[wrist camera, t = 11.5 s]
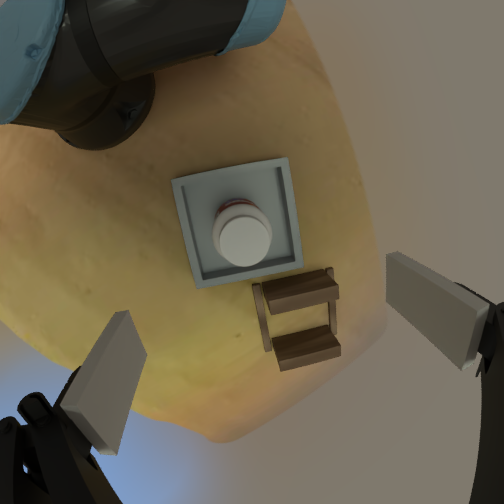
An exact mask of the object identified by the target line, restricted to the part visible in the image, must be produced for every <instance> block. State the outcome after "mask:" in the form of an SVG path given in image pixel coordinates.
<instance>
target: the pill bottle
mask: <svg viewBox="0 0 504 504" xmlns="http://www.w3.org/2000/svg"><path fill="white" fill-rule="evenodd" d="M212 240H213V244H214V246H215V248H216V250H217V252H218V253H219V254H220V255H221V256H222V257H223V258H224V259H226V260H228V261H229V262H230V263H232V264H234V265H237V266H242V267H245V266H252V265H254V264H256V263H258V262H260V261H261V260H262V259H263V258H264V257H265V256H266V254H267V252H268V250H269V247H270V244H271V241H272V228H271V224H270V222H269V220H268V218H267V216H266V215H265V214H264V213H263V212H262V211H261V210H260V209H259V207H258V206H257V205H256V204H255V203H253V202H252V201H250V200H248V199H244V198H234V199H230V200H228V201H226V202H224V203H223V204H222V205H221V206H220V207H219V209H218V210H217V212H216V215H215V218H214V224H213V229H212Z"/></svg>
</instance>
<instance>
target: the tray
mask: <svg viewBox="0 0 504 504" xmlns="http://www.w3.org/2000/svg"><path fill="white" fill-rule="evenodd" d="M171 183H172V188H173V192H174V197H175V202H176V206H177V211H178V215H179V220H180V224H181V228H182V233H183V237H184V241H185V245H186V249H187V253H188V257H189V261H190V265H191V269H192V273H193V276H194V280H195V284H196V288H197V289H200V288H205V287H210V286H215V285H220V284H226V283H231V282H236V281H240V280H245V279H250V278H255V277H260V276H265V275H269V274H274V273H279V272H284V271H288V270H293V269H298V268H302V267H304V263H303V255H302V247H301V239H300V232H299V225H298V218H297V211H296V204H295V198H294V192H293V185H292V179H291V173H290V167H289V161H288V157H285V158H279V159H272V160H266V161H260V162H254V163H248V164H242V165H237V166H232V167H226V168H221V169H216V170H211V171H207V172H202V173H197V174H193V175H188V176H184V177H180V178H176V179H171ZM234 198H244V199H248V200H250V201H252V202H253V203H255V204H256V205H257V206H258V207H259V209H260V210H261V211H262V212H263V213H264V214H265V215H266V216H267V218H268V220H269V222H270V224H271V228H272V241H271V244H270V247H269V250H268V252H267V254H266V256H265V257H264V258H263V259H262V260H261V261H260V262H258V263H256V264H254V265H252V266H245V267H242V266H237V265H234V264H232V263H230V262H229V261H228V260H226V259H224V258H223V257H222V256H221V255H220V254H219V253H218V252H217V250H216V248H215V246H214V244H213V240H212V229H213V224H214V218H215V215H216V212H217V210H218V209H219V207H220V206H221V205H222V204H223V203H224V202H226V201H228V200H230V199H234Z"/></svg>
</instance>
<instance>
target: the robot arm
mask: <svg viewBox="0 0 504 504" xmlns="http://www.w3.org/2000/svg"><path fill="white" fill-rule="evenodd" d="M285 4H286V0H7V1H6V2H5V3H4V4H3V5H2V6H1V7H0V125H3V124H4V125H5V124H6V123H7V124H8V123H9V124H16V125H24V126H31V127H37V128H44V129H50V130H54V131H55V132H56V133H58V134H59V136H60V137H61V138H62V139H63V140H64V141H65V142H66V143H68V144H69V145H71V146H73V147H76V148H79V149H84V150H104V149H108V148H111V147H113V146H115V145H118V144H119V143H121V142H123V141H124V140H126V139H127V138H128V137H130V136H131V135H132V134H133V133H134V132H135V131H136V130H137V129H138V128H139V127H140V125H141V124H142V123H143V121H144V120H145V118H146V116H147V115H148V113H149V111H150V108H151V106H152V103H153V99H154V94H155V80H154V75H153V72H154V71H157V70H160V69H164V68H167V67H170V66H173V65H177V64H180V63H184V62H187V61H191V60H195V59H199V58H203V57H207V56H212V55H214V56H220V55H223V54H225V53H226V52H228V51H231V50H235V49H239V48H244V47H249V46H253V45H257V44H259V43H261V42H263V41H265V40H266V39H267V38H268V37H269V36H270V35H271V34H272V33H273V32H274V31H275V29H276V28H277V26H278V24H279V22H280V20H281V17H282V15H283V11H284V8H285ZM386 302H387V303H388V304H389V305H391V306H392V307H393V308H394V309H395V310H396V311H397V312H398V313H400V314H401V315H402V316H403V317H404V318H405V319H406V320H407V321H408V322H410V323H411V324H412V325H413V326H414V327H415V328H416V329H417V330H419V331H420V332H421V333H422V334H423V335H424V336H425V337H426V338H427V339H428V340H429V341H430V342H431V343H433V344H434V345H435V346H436V347H437V348H438V349H439V350H440V351H441V352H442V353H443V354H444V355H445V356H446V357H447V358H448V359H450V360H451V362H453V363H454V364H455V365H456V366H457V367H458V368H459V369H460V370H461V371H463V370H464V369H466V368H467V367H469V366H471V365H472V364H473V363H474V361H475V358H476V355H477V352H479V353H480V354H482V358H481V362H480V364H479V367H478V370H477V373H476V377H478V375H479V372H480V371H481V383H482V384H481V388H482V410H481V430H480V442H479V451H478V459H477V467H476V472H475V478H474V483H473V488H472V493H471V498H470V501H469V504H504V302H502V303H499V304H498V305H495V304H494V303H492V302H490V301H489V300H487V299H485V298H484V297H482V296H481V295H479V294H476V292H474V291H472V290H470V289H469V288H467V287H466V286H464V285H462V284H459V283H456V282H452V281H451V280H449V279H447V278H445V277H444V276H442V275H440V274H438V273H436V272H435V271H433V270H431V269H430V268H428V267H426V266H424V265H422V264H420V263H419V262H417V261H415V260H413V259H411V258H409V257H407V256H406V255H404V254H402V253H400V252H398V251H397V252H393V253H389V254H386ZM146 357H147V353H146V351H145V349H144V346H143V344H142V342H141V340H140V337H139V335H138V333H137V330H136V328H135V325H134V323H133V320H132V318H131V315H130V313H129V310H126V311H120V312H115V314H114V315H113V317H112V318H111V320H110V321H109V323H108V324H107V326H106V327H105V329H104V331H103V332H102V334H101V335H100V337H99V338H98V340H97V342H96V343H95V345H94V346H93V348H92V350H91V351H90V353H89V355H88V356H87V358H86V360H85V361H84V363H83V365H82V366H79V367H78V368H77V369H76V370H75V371H74V372H73V373H72V374H71V376H70V378H69V380H68V383H66V384H65V386H64V389H63V390H62V391H61V393H60V395H59V397H58V399H57V400H56V402H55V404H54V406H53V407H52V406H51V405H50V403H49V402H48V401H47V399H46V398H45V396H44V395H43V394H42V393H40V392H33V393H30V394H28V395H27V396H25V397H24V398H23V399H22V400H21V401H20V403H19V405H18V408H17V411H18V412H19V414H20V415H21V416H22V417H23V419H24V420H25V421H26V422H27V423H28V425H20V423H19V422H18V421H17V420H16V418H14V417H12V416H9V417H6V418H3V419H2V420H0V504H123V503H122V502H121V500H120V499H119V497H118V496H117V494H116V493H115V491H114V490H113V488H112V487H111V485H110V483H109V482H108V480H107V479H106V477H105V475H104V473H103V472H102V470H101V468H100V467H99V465H98V463H97V461H96V459H95V457H94V456H93V455H92V454H91V453H90V450H91V447H92V446H93V447H94V448H95V449H96V450H97V451H98V452H99V453H100V454H104V455H117V453H118V449H119V446H120V442H121V438H122V434H123V431H124V427H125V424H126V421H127V417H128V414H129V410H130V407H131V404H132V400H133V397H134V394H135V391H136V388H137V385H138V381H139V378H140V375H141V372H142V369H143V366H144V363H145V360H146ZM23 465H24V466H26V467H27V468H28V472H27V473H25V472H24V469H23Z"/></svg>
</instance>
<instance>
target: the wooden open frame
mask: <svg viewBox="0 0 504 504" xmlns="http://www.w3.org/2000/svg"><path fill="white" fill-rule="evenodd" d="M325 269H326V272H325V271H324V270H323V269H321V270H317V271H312V272H308V273H303V274H299V275H294V276H290V277H285V278H281V279H276V280H271V281H266V282H262V286H263V291H264V296H265V299H266V302H267V305H268V308H269V310H270V313H271V315H275V314H279V313H283V312H288V311H292V310H297V309H301V308H305V307H309V306H313V305H317V304H321V303H325V302H328V307H329V324H330V328H329V327H328V325H324V326H320V327H316V328H312V329H308V330H304V331H300V332H296V333H292V334H288V335H284V336H279V337H275V338H272V341H273V347H274V351H275V354H276V357H277V361H278V364H279V367H280V371H281V372H282V371H286V370H290V369H294V368H298V367H302V366H306V365H310V364H314V363H318V362H321V361H325V360H328V359H332V358H335V357H339V356H341V345H340V343H339V342H338V340H337V339H336V337H335V336H334V335H336V334H337V321H336V301H335V300H337V299H339V286H338V284H337V283H336V282H335V281H334V271H333V268H332V267H330V268H325ZM252 287H253V292H254V297H255V302H256V307H257V312H258V317H259V322H260V327H261V332H262V337H263V342H264V347H265V352H269V351H272V349H271V343H270V338H269V332H268V327H267V322H266V316H265V311H264V305H263V300H262V295H261V289H260V284H259V283H257V284H252Z"/></svg>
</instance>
